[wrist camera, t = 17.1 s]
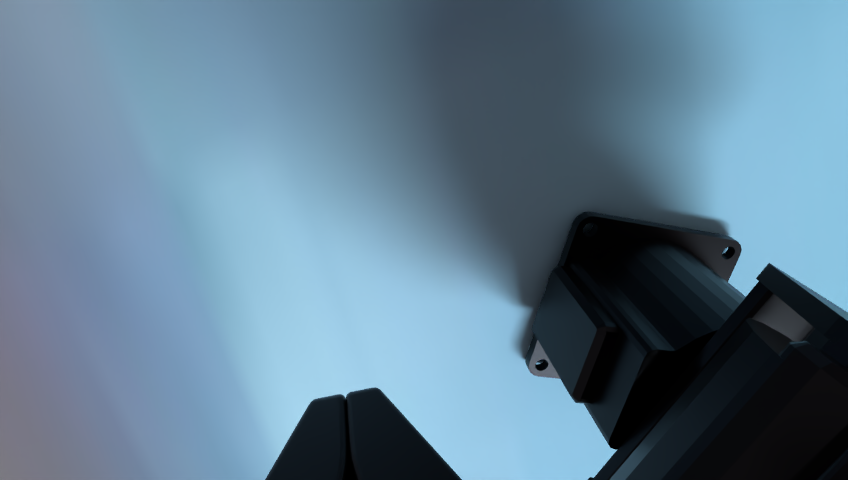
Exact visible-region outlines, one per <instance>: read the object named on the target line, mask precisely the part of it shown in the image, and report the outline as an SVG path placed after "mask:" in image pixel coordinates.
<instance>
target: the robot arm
mask: <svg viewBox="0 0 848 480" xmlns="http://www.w3.org/2000/svg"><path fill="white" fill-rule="evenodd" d="M589 223H593V227H592V228H591V230H589V231H587V232H583V229H584V227H585V226H586V225H587V224H589ZM727 247H728V250H727V251H726V252H725V253H724V254H722V251H723V250H724V249H725V248H727ZM740 253H741V245H740V244H739V243H738V242H737V241H736V240H734V239H733V238H732V237H729V236H726V235H720V234H714V233H709V232H703V231H697V230H692V229H686V228H680V227H674V226H669V225H663V224H657V223H651V222H646V221H640V220H634V219H629V218H623V217H617V216H611V215H606V214H600V213H594V212H584V213H582V214H579V215H578V216H577V217H576V218H575V220H574V221H573V223H572V226H571V229H570V232H569V235H568V238H567V241H566V244H565V246H564V249H563V252H562V255H561V258H560V261H559V264H558V266H557V267H555V268H554V269H553V270H552V271H551V274H550V277H549V280H548V283H547V286H546V289H545V292H544V295H543V297H542V300H541V303H540V306H539V309H538V312H537V315H536V318H535V321H534V324H533V327H532V331H533V333H534V336H533V339H532V342H531V344H530V347H529V350H528V353H527V356H526V361H525V362H526V365H527V367H528V369H529V371H530V372H531V373H532V374H533V375H535V376H540V377H550V378H559V379H561V380H562V382H563V384H564V386H565V387H566V389H567V391H568V392H569V394H570V396H571V397H572V399H573V400H574V401H575V402H576V403H584V405H585V406H586V408H587V410H588V411H589V413H590V415H591V416H592V418H593V420H594V421H595V423H596V425H597V426H598V428H599V430H600V431H601V433H602V435H603V436H604V438H605V440H606V441H607V443H608V444H609V446H610V448H613V449H618V450H617V451H616V452H615V453H614V455H613V456H612V457H611V458H610V459H609V461H608V462H607V463H606V464H605V465H604V466H603V468H602V469H601V470H600V471H599V472H598V474H597V475H596V476H595V477H594V478H592V477H590V478H589V479H588V480H848V312H846V311H845V310H843V309H841V308H840V307H838V306H837V305H835V304H833V303H832V302H830V301H829V300H827V299H826V298H824V297H822V296H821V295H819V294H818V293H816V292H814V291H813V290H811V289H810V288H808V287H807V286H805V285H803V284H802V283H800V282H799V281H797V280H795V279H794V278H792V277H791V276H789V275H788V274H786V273H784V272H783V271H781V270H780V269H778V268H776V267H775V266H773V265H772V264H770V263H769V264H768V265H767V266H766V267H765V268H764V270H763V271H762V272H761V273H760V274H759V276H758V277H757V278H756V279H757V280H758V281H759V282H758V283H757V284H756V286H755V287H754V288H753V289H752V290H751V292H750V293H749V294H748V295H747V296H746V297H745V296H744V295H743V294H742V293H740V292H739V291H738V290H737V289H735V288H734V287H733V286H732V285H730V284H729V283H728V280H729V278H730V276H731V274H732V271H733V269H734V267H735V265H736V263H737V261H738V258H739V256H740ZM542 359H545V360H544V361H543V363H541V364H537V365H536V363H537V361H539V360H542ZM265 480H462V479H461V478H460V477H459V476H458V475H457V474H456V473H455V472H454V471H453V469H452V468H451V467H450V466H449V465H448V464H447V463H446V462H445V461H444V460H443V458H442V457H441V456H440V455H439V454H438V453H437V452H436V451H435V450H434V448H433V447H432V446H431V445H430V444H429V443H428V442H427V441H426V440H425V439H424V437H423V436H422V435H421V434H420V433H419V432H418V431H417V430H416V429H415V427H414V426H413V425H412V424H411V423H410V422H409V421H408V420H407V419H406V418H405V416H404V415H403V414H402V413H401V412H400V411H399V410H398V409H397V408H396V407H395V405H394V404H393V403H392V402H391V401H390V400H389V399H388V398H387V397H386V395H385V394H384V393H383V392H382V391H381V390H380V389H378V388H369V389H364V390H359V391H354V392H350V393H348V394H347V397H346V398H345V397H344V396H343V395H341V394H338V395H333V396H328V397H323V398H318V399H315V400H313V401H312V402H311V403H310V404H309V406H308V407H307V409H306V411H305V413H304V414H303V416H302V418H301V419H300V421H299V423H298V424H297V426H296V428H295V430H294V431H293V433H292V435H291V436H290V438H289V440H288V442H287V443H286V445H285V447H284V448H283V450H282V452H281V454H280V455H279V457H278V459H277V460H276V462H275V464H274V466H273V467H272V469H271V471H270V472H269V474H268V476H267V478H266V479H265Z"/></svg>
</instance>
